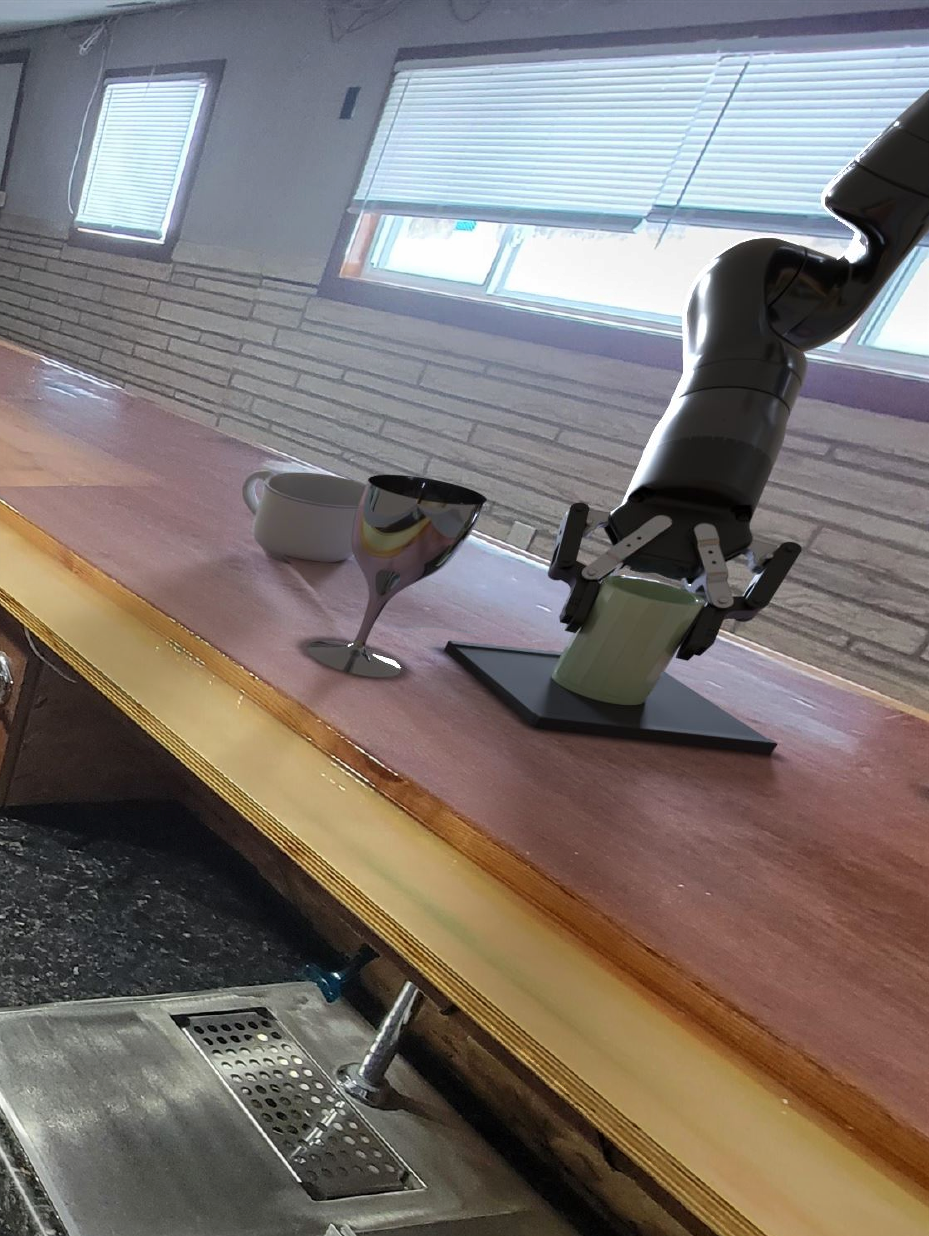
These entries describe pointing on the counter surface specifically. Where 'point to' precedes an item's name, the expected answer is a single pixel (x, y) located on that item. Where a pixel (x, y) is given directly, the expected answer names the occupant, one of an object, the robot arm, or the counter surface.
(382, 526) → the wine glass
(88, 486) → the counter surface
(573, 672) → the cup
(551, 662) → the bar mat
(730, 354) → the robot arm
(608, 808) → the counter surface
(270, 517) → the teacup
